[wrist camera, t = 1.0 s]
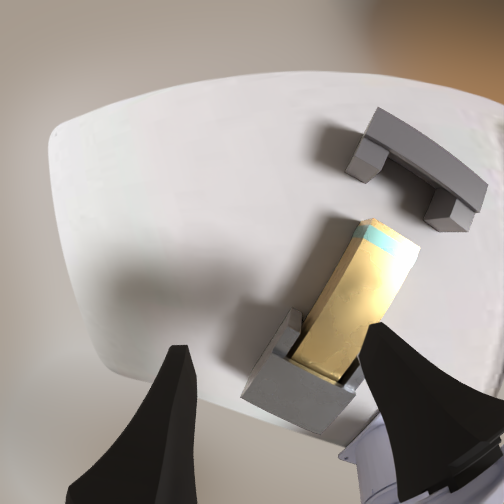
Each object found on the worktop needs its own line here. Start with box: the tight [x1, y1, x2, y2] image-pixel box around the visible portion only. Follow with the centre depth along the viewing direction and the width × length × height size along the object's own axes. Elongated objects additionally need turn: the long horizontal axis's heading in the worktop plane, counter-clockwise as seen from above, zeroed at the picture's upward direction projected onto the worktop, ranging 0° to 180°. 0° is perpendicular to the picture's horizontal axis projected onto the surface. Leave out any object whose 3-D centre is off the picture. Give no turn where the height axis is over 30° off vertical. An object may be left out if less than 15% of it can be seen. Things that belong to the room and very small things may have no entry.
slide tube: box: [286, 218, 420, 382], centre depth 20 cm, size 4×15×4 cm, turn 152°
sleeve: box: [240, 308, 365, 435], centre depth 20 cm, size 7×7×6 cm
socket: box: [345, 107, 488, 232], centre depth 18 cm, size 10×4×6 cm, turn 61°
